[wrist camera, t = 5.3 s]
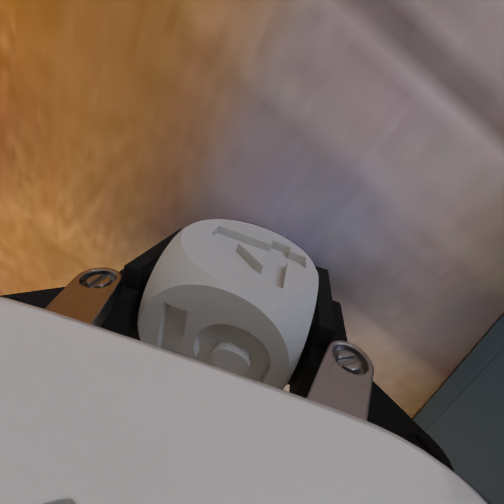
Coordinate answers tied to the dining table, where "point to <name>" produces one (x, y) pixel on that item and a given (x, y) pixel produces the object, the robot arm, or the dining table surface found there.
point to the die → (232, 299)
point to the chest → (473, 416)
